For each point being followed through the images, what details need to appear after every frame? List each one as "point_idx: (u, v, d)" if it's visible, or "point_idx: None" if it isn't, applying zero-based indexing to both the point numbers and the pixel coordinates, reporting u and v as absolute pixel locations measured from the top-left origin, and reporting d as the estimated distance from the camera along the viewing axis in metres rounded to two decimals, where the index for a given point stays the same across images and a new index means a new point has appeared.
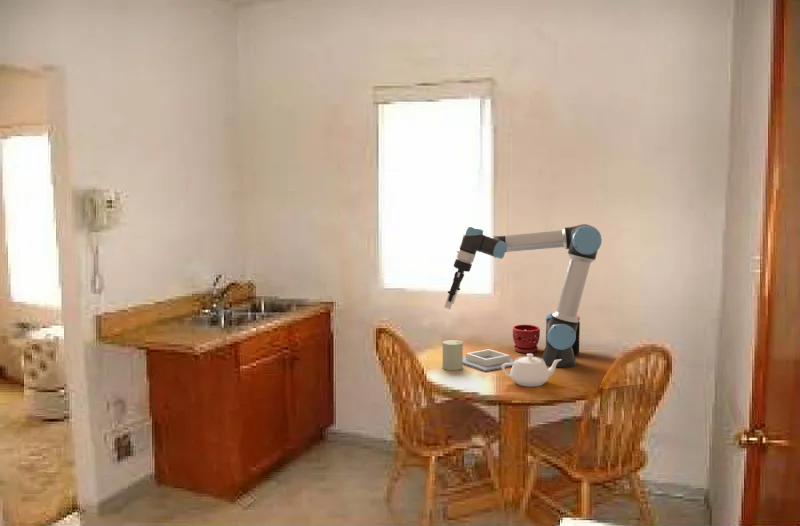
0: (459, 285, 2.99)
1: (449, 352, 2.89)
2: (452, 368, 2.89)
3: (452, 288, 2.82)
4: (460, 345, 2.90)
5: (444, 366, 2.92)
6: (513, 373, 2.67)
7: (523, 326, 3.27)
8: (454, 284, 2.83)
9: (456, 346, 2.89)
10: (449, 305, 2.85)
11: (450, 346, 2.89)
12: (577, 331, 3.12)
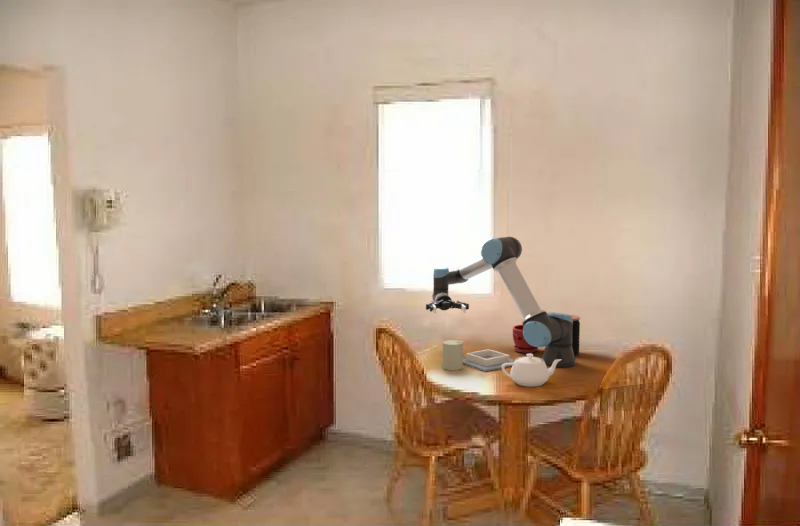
0: (464, 303, 3.09)
1: (449, 352, 2.89)
2: (452, 368, 2.89)
3: None
4: (460, 345, 2.90)
5: (444, 366, 2.92)
6: (513, 373, 2.67)
7: (523, 326, 3.27)
8: None
9: (456, 346, 2.89)
10: (433, 308, 3.01)
11: (450, 346, 2.89)
12: (577, 331, 3.12)
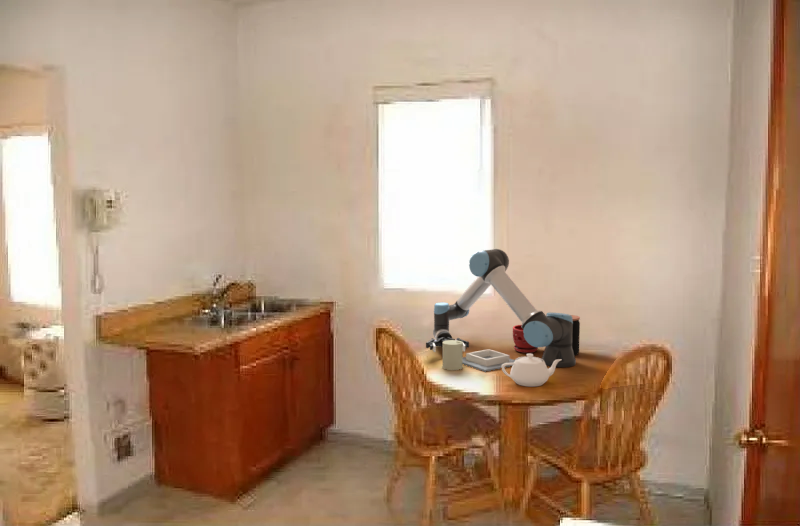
0: None
1: (449, 352, 2.89)
2: (452, 368, 2.89)
3: None
4: (460, 345, 2.90)
5: (444, 366, 2.92)
6: (513, 373, 2.67)
7: None
8: None
9: (456, 346, 2.89)
10: (433, 347, 3.01)
11: (450, 346, 2.89)
12: (577, 331, 3.12)
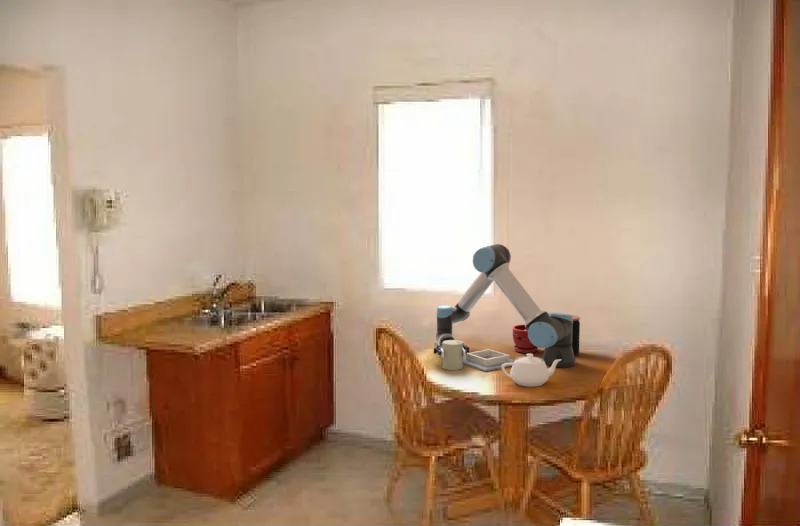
0: (465, 346, 2.98)
1: (449, 352, 2.89)
2: (452, 368, 2.89)
3: None
4: (460, 345, 2.90)
5: (444, 366, 2.92)
6: (513, 373, 2.67)
7: (523, 326, 3.27)
8: None
9: (456, 346, 2.89)
10: (442, 352, 2.90)
11: (450, 346, 2.89)
12: (577, 331, 3.12)
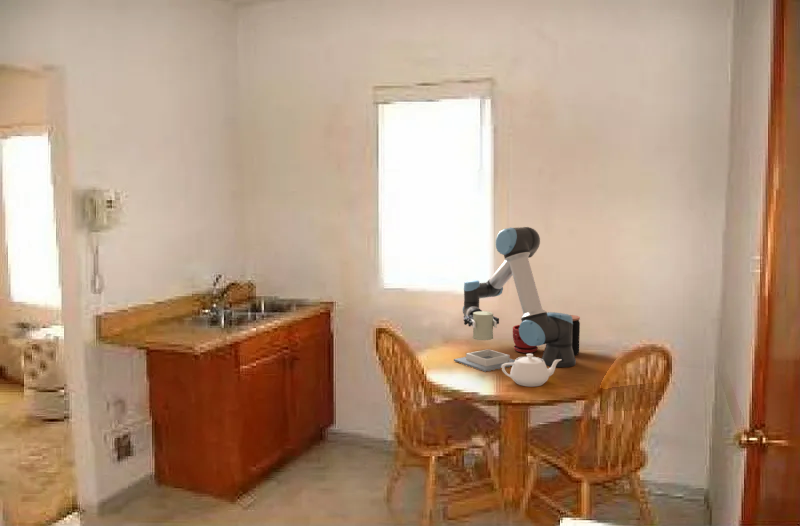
0: None
1: (480, 322, 2.94)
2: (483, 338, 2.95)
3: None
4: (491, 315, 2.95)
5: (475, 336, 2.97)
6: (513, 373, 2.67)
7: None
8: None
9: (487, 316, 2.94)
10: (473, 323, 2.95)
11: (481, 316, 2.94)
12: (577, 331, 3.12)
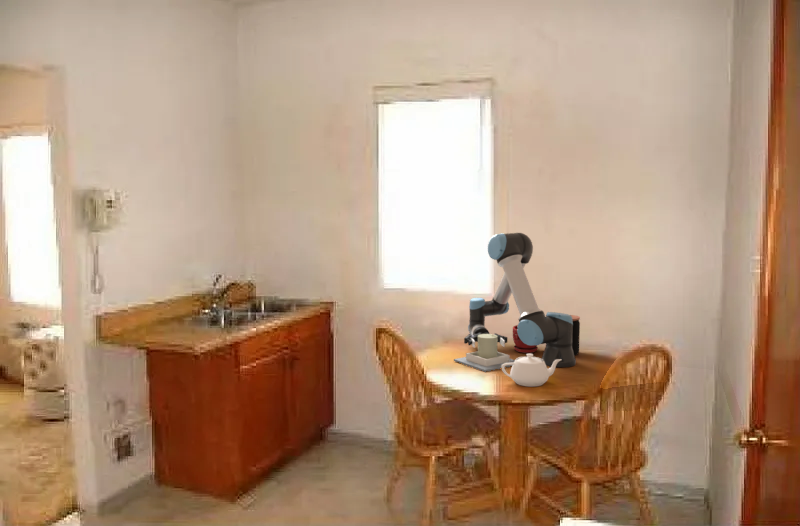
0: None
1: (485, 345, 2.96)
2: None
3: None
4: (495, 339, 2.97)
5: None
6: (513, 373, 2.67)
7: None
8: None
9: (491, 339, 2.96)
10: (472, 342, 2.98)
11: (486, 339, 2.96)
12: (577, 331, 3.12)
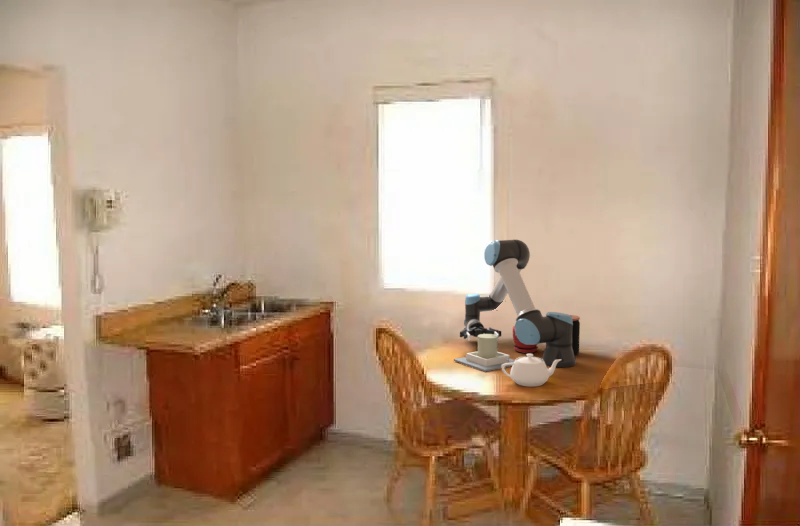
0: None
1: (485, 345, 2.96)
2: None
3: None
4: (495, 339, 2.97)
5: None
6: (513, 373, 2.67)
7: None
8: None
9: (491, 339, 2.96)
10: (468, 336, 3.11)
11: (485, 339, 2.96)
12: (577, 331, 3.12)
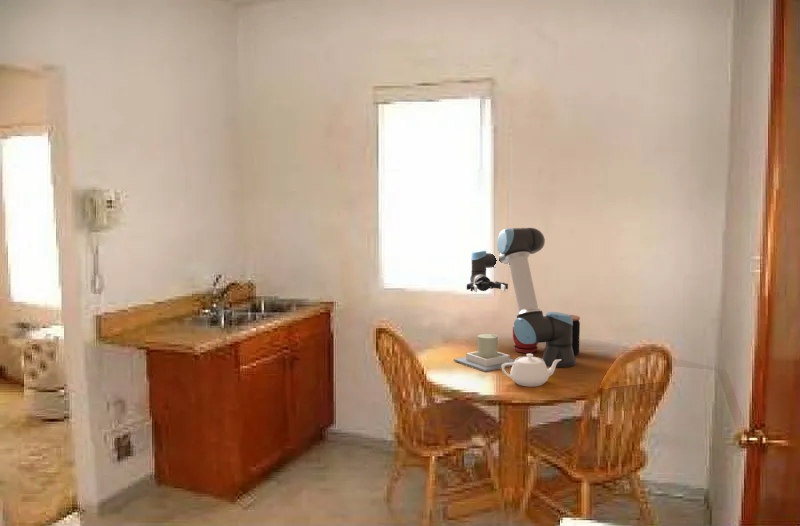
0: None
1: (485, 345, 2.96)
2: None
3: None
4: (495, 339, 2.97)
5: None
6: (513, 373, 2.67)
7: None
8: None
9: (491, 339, 2.96)
10: (474, 287, 3.13)
11: (485, 339, 2.96)
12: (577, 331, 3.12)
